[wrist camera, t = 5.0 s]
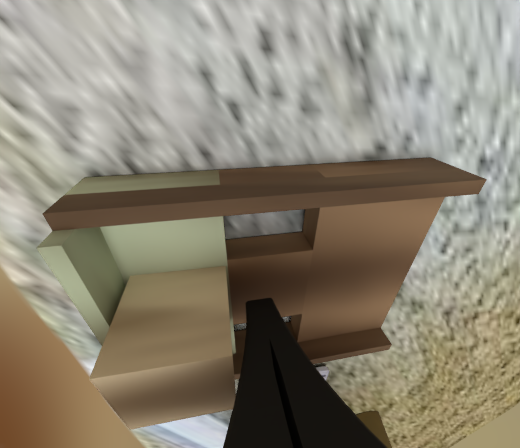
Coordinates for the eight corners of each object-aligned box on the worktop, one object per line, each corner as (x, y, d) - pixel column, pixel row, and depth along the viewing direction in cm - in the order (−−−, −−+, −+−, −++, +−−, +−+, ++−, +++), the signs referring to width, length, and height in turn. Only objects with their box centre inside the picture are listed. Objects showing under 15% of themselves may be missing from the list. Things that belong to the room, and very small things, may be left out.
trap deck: (366, 314, 18) (396, 361, 15) (158, 348, 15) (147, 412, 13) (431, 157, 11) (508, 188, 8) (84, 177, 9) (23, 229, 6)
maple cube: (229, 320, 13) (236, 408, 9) (152, 331, 12) (129, 429, 9) (225, 265, 10) (232, 355, 7) (129, 275, 10) (89, 379, 7)
